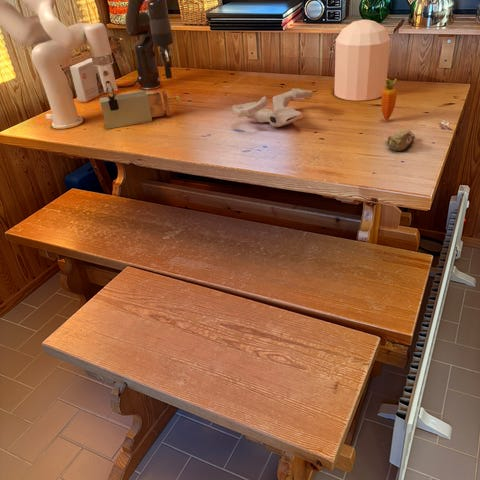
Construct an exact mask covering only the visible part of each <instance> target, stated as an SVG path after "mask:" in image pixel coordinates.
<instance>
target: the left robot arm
mask: <svg viewBox="0 0 480 480" xmlns="http://www.w3.org/2000/svg"><path fill="white" fill-rule="evenodd" d="M20 1H21V2H22V3H23V4H24V5H25V6H26V7H27V8H29V10H31V11H32V12H33V13H35V15H29V16H25V15H24V14H22V13H21V12H20V11H19V10H18V9H17V8H16V7H15V6H14V5H13V4H11V3H9V1H6V0H0V26H1V28H2V29H3V30H4V31H6V33H8V34H9V35H10V37H11V38H13V39H14V40H15V41H16V42H17V44H19V45H20V46H22V47H24V48H29V47H33V46H34V47H33V48H32V51H31V61H32V63H33V65H34V67H35V69H36V71H37V73H38V75H39V78H40V80H41V83H42V87H43V89H44V92H45V95H46V98H47V101H48V105H49V107H50V111H51V113H46V114H45V119H46V121H52V122H51V126H52V128H54V129H58V130H63V129H69V128H70V129H71V128H75V127H76V126H79V125H81V124H82V123H83V122H84V118H83V116H81V115H79V114H78V111H77V107H76V104H75V100H74V97H73V93H72V90H71V86H70V83H69V80H68V78H67V75H66V74H65V71H64V69H62V67H61V66H62V65H64V64H67V63H68V62H69V61H70V60H71V59H72V57H73V55H74V54H73V53H74V52H73V51H75V50H77V49H80V48H81V47H84V46H87V45H88V50H89V54H90V58H92V61H93V65H94V66H96V67H97V68H98V71H99V75H100V79H101V82H102V85H103V88H104V91H105V93H106V95H107V96H106V97H108V99H109V100H108V102H109V106H110V110H111V111H113V110H118V109H119V107H118V103H117V99H116V97H115V96H116V93H115V92H118V91H119V90H118V87H117V86H118V85H117V81H116V76H115V72H114V69H113V66H112V65H113V64H114V63H115V62H114V57H113V54H112V49H111V44H110V40H109V36H108V31H107V28H106V25H105V24H104V23H102V22H93V23H87V22H77V23H74V24H71V25H68V26H66V24H64V23H63V22H62V21H61V20H59V19H58V17H57V16H56V15H55V13H54V11H53V9H54V7H55V0H20ZM35 45H36V46H35ZM105 93H104V94H105Z"/></svg>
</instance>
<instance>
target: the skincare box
mask: <svg viewBox="0 0 480 480" xmlns="http://www.w3.org/2000/svg"><path fill="white" fill-rule="evenodd" d="M69 70H70V74H71V78H72V82H73V86H74V90H75V94H76V98H77V102H81V103H82V102H84V103H87V102H89V101H91V100H93V99H95V98H97V97H100V96H101V95H103V94H105V91H104V88H103V85H102V82H101V79H100V75H99V71H98V68H97V67H96V66H94V65H93V61H92V58H91V57H90V58H87V59H85V60H83V61H80V62H78V63H75V64H73V65H71V66H69Z"/></svg>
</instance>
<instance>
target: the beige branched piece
mask: <svg viewBox="0 0 480 480" xmlns="http://www.w3.org/2000/svg"><path fill="white" fill-rule="evenodd" d="M313 93H314V92H313V91H312V90H307V89H302V88H292V89H291V90H289V91H286V92H283V93H281V94H277V95H275V96H272V102H271V103H272V107H273V109H272V110H271V109H266V108H265V107H267V106H268V98H267V96H266V95H264V96H262V97H261V98H260V99H259V100H258V101H257V102H256V101H251V102H246V103H240V104H234V105H232V106H231V107H232V108H231V109H232V112H233V113H234V115H235V116H237V118H244V117H246V118H248V119H252V120H257V122H259V123H269V124H270V126H272V127H274V128H280V127H284V126H287V125H290V124H294V123H296V121H298V120H301V119H302V112H301V111H300V110H297V109H295V108H294V107H291V106H288V105H289V103H290V102H292V101H299V100H308V101H310V100H311V99H312V97H313Z"/></svg>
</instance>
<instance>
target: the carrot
mask: <svg viewBox="0 0 480 480" xmlns="http://www.w3.org/2000/svg"><path fill="white" fill-rule="evenodd" d="M397 81H398V78H395V79H394V80H393V82H391V79H390V78H387V79H386V89H384V90H383V91H382V96H381V97H380V98H381V100H380V101H381V102H380V104H381V112H382V113H381V114H382V117H383V119H384V120H385V121H386V122H388V121H389V119H390V118H391V117H392V114H393V112H394V109H395V106H396V101H397V96H398V95H397V94H398V91H397V89H395V88H394V86H395V85H396V83H397Z"/></svg>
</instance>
